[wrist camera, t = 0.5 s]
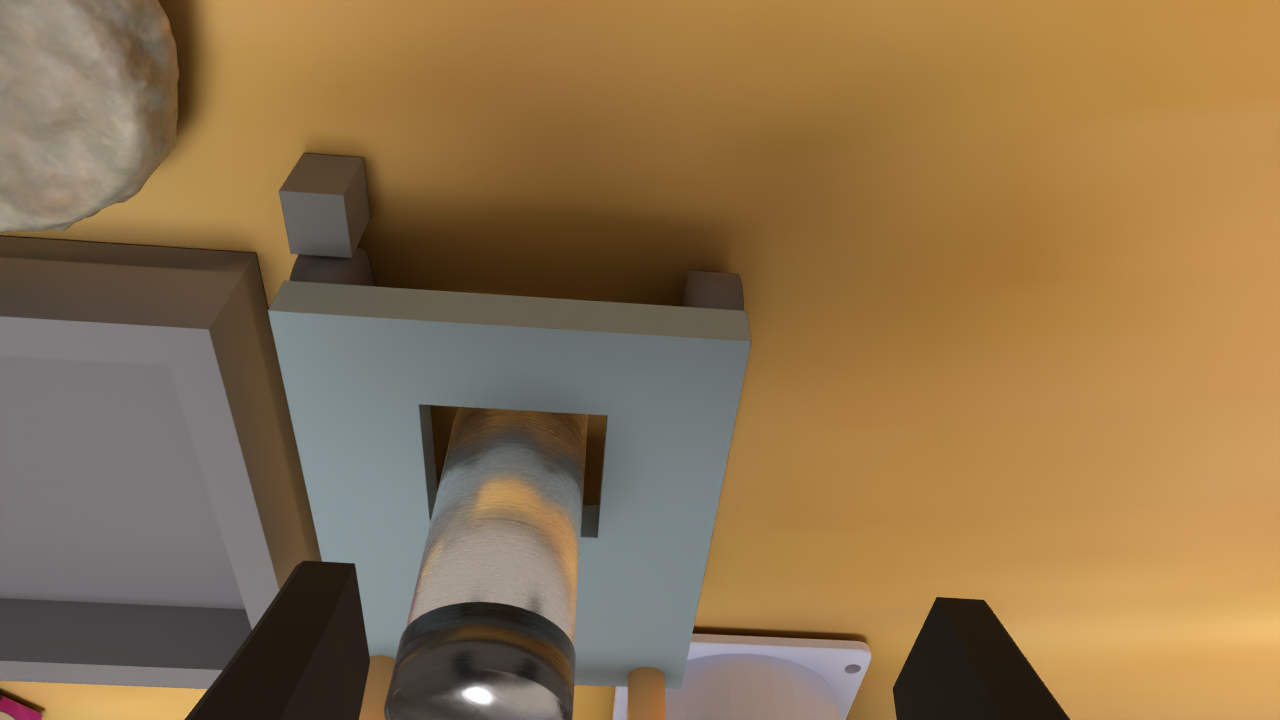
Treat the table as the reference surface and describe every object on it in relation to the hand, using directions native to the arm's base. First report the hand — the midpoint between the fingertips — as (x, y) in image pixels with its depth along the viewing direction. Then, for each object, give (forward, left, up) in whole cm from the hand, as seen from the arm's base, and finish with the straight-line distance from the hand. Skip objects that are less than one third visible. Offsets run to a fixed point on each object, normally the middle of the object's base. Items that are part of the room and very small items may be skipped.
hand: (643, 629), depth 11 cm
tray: (-8, +15, -10) cm, 20 cm away
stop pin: (-4, +2, -10) cm, 11 cm away
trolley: (-6, +2, -10) cm, 12 cm away
